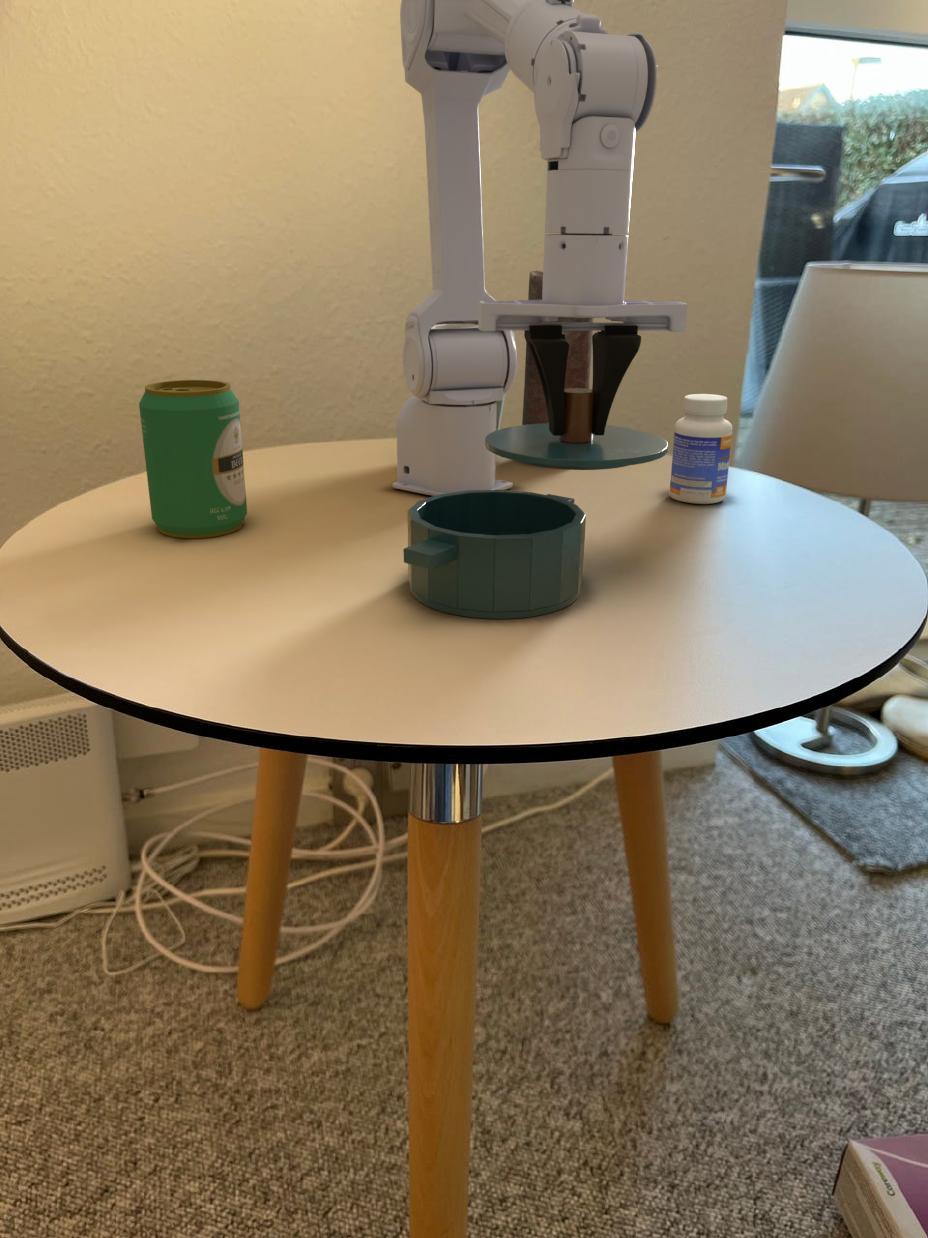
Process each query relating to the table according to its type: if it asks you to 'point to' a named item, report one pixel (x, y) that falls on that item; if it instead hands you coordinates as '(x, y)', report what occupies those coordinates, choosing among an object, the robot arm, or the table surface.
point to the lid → (576, 440)
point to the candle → (576, 361)
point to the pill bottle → (701, 450)
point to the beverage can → (193, 457)
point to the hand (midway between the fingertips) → (575, 433)
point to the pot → (495, 553)
